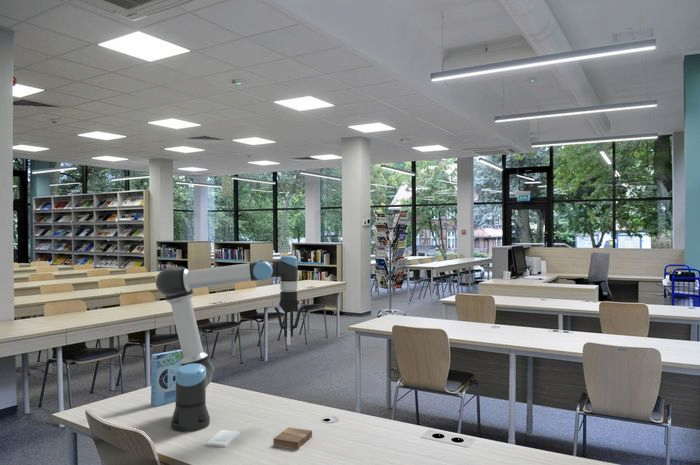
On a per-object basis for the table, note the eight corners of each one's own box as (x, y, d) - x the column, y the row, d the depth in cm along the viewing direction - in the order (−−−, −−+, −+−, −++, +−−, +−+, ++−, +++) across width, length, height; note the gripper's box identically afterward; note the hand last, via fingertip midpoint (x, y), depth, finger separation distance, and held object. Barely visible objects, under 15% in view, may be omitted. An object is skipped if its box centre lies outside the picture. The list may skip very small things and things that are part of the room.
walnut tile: (312, 438, 188) (298, 450, 177) (288, 435, 192) (273, 446, 181) (311, 430, 189) (298, 442, 177) (288, 427, 192) (273, 438, 181)
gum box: (156, 407, 223) (156, 356, 224) (150, 404, 226) (150, 354, 227) (193, 396, 238) (194, 349, 239) (187, 394, 241) (187, 347, 242)
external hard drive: (239, 435, 191) (225, 448, 179) (220, 434, 193) (204, 447, 181) (239, 431, 191) (225, 444, 179) (220, 429, 193) (204, 442, 181)
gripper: (302, 289, 224) (302, 342, 223) (273, 290, 221) (273, 343, 221) (304, 291, 216) (304, 345, 216) (274, 291, 214) (273, 346, 213)
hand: (288, 344), depth 218 cm, fingers closed
